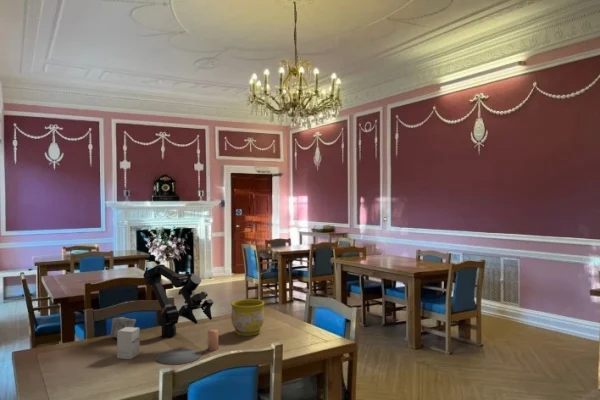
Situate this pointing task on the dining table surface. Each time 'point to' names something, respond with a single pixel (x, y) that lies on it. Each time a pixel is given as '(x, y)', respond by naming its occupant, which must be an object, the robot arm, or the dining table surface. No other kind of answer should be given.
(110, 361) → the dining table surface
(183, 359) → the mat
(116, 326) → the incense holder
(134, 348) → the supplement box
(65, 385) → the dining table surface
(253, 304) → the flowerpot
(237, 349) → the dining table surface
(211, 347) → the salt shaker
